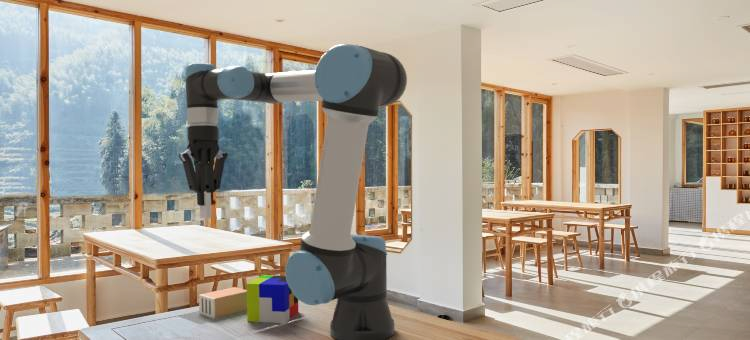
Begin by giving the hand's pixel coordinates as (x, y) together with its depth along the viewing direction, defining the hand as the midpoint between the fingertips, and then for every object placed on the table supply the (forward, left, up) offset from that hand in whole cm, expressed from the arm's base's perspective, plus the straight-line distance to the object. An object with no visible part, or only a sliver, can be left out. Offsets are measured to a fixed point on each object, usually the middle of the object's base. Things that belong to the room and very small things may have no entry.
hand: (205, 218), depth 141 cm
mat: (+3, -4, -26) cm, 27 cm away
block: (+3, -1, -23) cm, 24 cm away
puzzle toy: (-11, -12, -27) cm, 31 cm away
